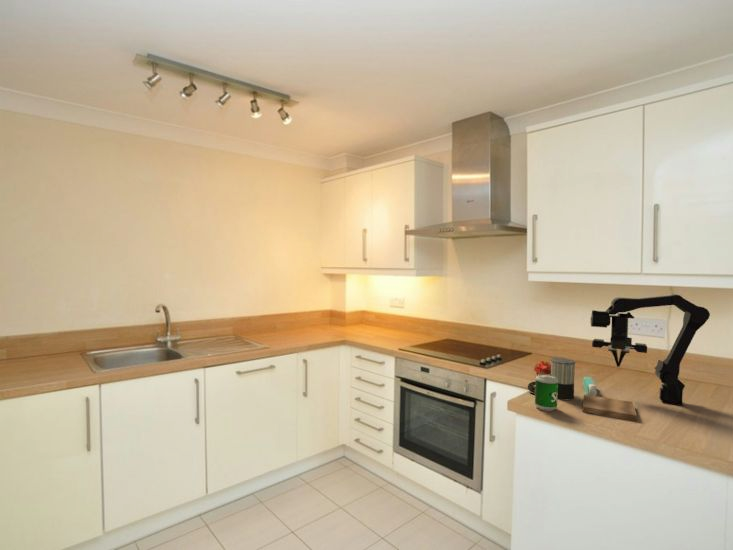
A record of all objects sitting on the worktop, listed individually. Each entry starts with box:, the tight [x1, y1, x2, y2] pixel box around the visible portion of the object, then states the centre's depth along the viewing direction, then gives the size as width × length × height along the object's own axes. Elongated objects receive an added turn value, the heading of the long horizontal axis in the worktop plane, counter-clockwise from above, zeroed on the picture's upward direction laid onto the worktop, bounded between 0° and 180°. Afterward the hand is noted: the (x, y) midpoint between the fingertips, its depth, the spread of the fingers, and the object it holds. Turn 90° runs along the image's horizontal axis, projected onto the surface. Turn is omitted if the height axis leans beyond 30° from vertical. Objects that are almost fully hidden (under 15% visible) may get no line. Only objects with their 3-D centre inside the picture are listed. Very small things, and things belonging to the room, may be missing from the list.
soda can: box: [534, 374, 558, 412], centre depth 146 cm, size 8×8×12 cm
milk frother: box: [527, 357, 577, 400], centre depth 162 cm, size 14×16×15 cm
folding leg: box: [582, 376, 598, 397], centre depth 165 cm, size 18×3×5 cm, turn 157°
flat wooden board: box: [582, 394, 638, 422], centre depth 146 cm, size 16×16×2 cm
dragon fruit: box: [533, 360, 551, 377], centre depth 187 cm, size 8×8×12 cm
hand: (618, 366), depth 162 cm, fingers closed
